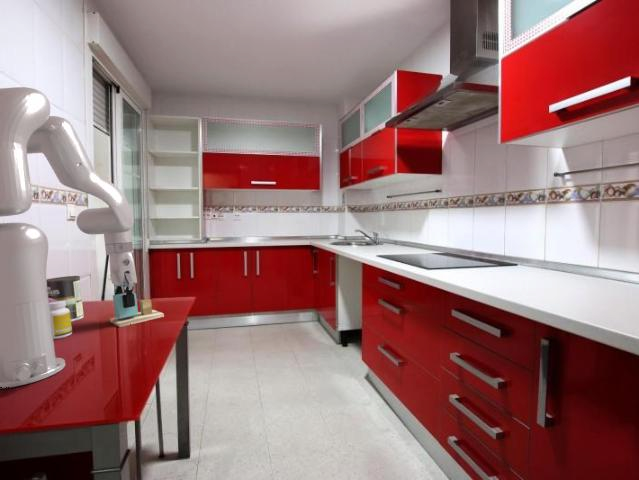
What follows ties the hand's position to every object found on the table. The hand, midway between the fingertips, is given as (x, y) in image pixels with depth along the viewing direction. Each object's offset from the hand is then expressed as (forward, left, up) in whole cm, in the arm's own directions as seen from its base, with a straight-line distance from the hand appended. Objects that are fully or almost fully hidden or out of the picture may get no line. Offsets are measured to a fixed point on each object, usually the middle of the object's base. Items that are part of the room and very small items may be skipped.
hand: (125, 305), depth 112 cm
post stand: (0, -3, -5) cm, 6 cm away
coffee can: (+23, +12, -5) cm, 27 cm away
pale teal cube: (0, 0, -3) cm, 3 cm away
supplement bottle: (+1, +17, -5) cm, 18 cm away
